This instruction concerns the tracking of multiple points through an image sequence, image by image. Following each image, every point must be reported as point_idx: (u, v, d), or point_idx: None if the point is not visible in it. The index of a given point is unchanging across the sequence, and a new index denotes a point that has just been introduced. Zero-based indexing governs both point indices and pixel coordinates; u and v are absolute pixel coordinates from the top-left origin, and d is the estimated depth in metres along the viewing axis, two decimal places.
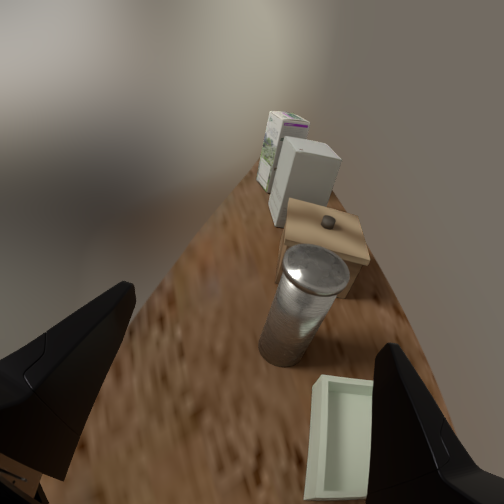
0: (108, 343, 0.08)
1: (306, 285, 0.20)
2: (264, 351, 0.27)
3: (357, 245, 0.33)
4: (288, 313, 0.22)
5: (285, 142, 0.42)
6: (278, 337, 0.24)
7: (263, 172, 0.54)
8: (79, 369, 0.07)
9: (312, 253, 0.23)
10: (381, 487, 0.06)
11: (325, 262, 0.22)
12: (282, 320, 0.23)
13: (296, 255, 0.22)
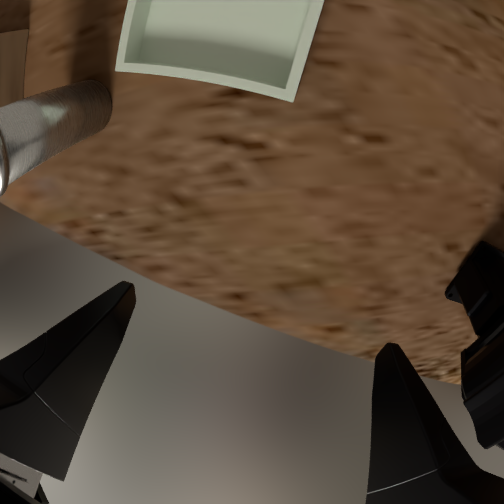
0: (108, 343, 0.08)
1: (1, 180, 0.10)
2: (95, 132, 0.19)
3: None
4: (41, 156, 0.13)
5: None
6: (73, 139, 0.16)
7: None
8: (79, 369, 0.07)
9: None
10: (381, 487, 0.06)
11: None
12: (51, 153, 0.14)
13: None
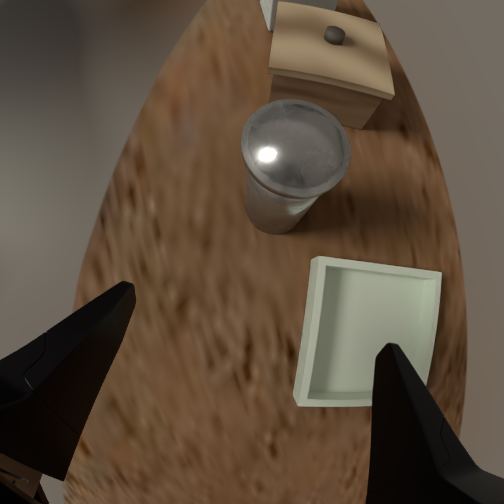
0: (108, 343, 0.08)
1: (274, 187, 0.13)
2: (251, 218, 0.23)
3: (377, 70, 0.19)
4: (263, 201, 0.16)
5: None
6: (260, 215, 0.20)
7: None
8: (79, 369, 0.07)
9: (291, 118, 0.13)
10: (381, 487, 0.06)
11: (312, 133, 0.13)
12: (258, 204, 0.17)
13: (263, 127, 0.13)
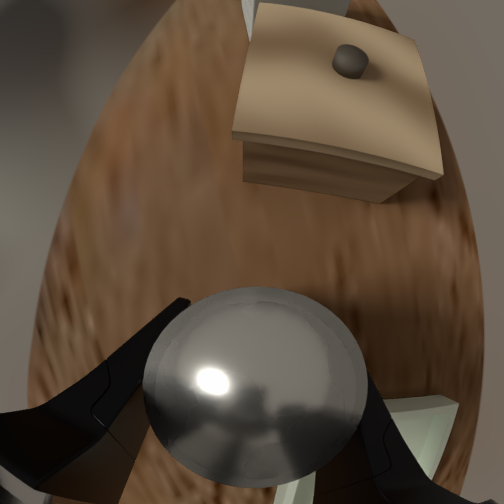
0: None
1: (210, 477, 0.06)
2: None
3: (417, 126, 0.12)
4: None
5: None
6: None
7: None
8: None
9: (247, 344, 0.06)
10: (324, 489, 0.06)
11: (291, 379, 0.06)
12: None
13: (184, 367, 0.06)
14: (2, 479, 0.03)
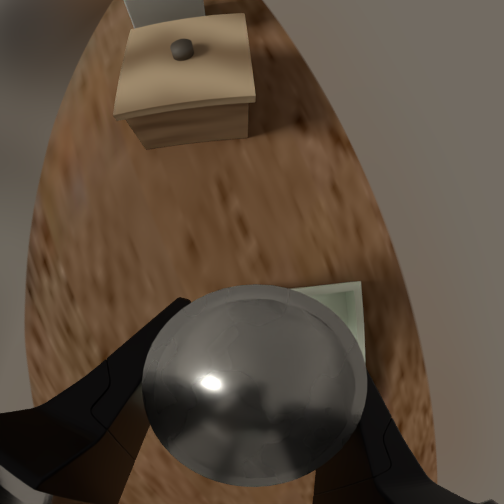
0: None
1: (209, 476, 0.06)
2: None
3: (234, 72, 0.18)
4: None
5: None
6: None
7: None
8: None
9: (246, 342, 0.06)
10: (324, 489, 0.06)
11: (290, 377, 0.06)
12: None
13: (184, 365, 0.06)
14: (2, 479, 0.03)
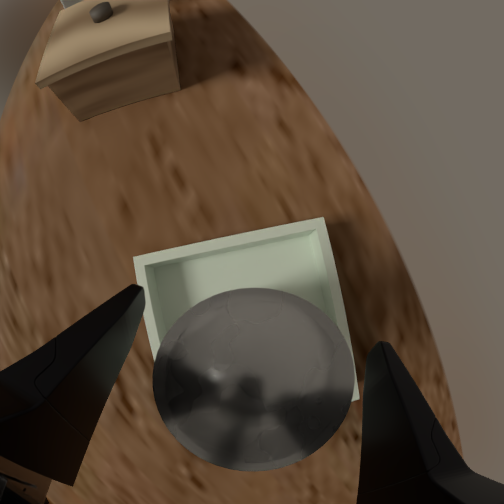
0: (119, 347, 0.08)
1: (212, 461, 0.07)
2: None
3: (149, 18, 0.14)
4: None
5: None
6: None
7: None
8: (90, 374, 0.07)
9: (246, 338, 0.07)
10: (371, 488, 0.06)
11: (285, 369, 0.07)
12: None
13: (190, 359, 0.07)
14: None
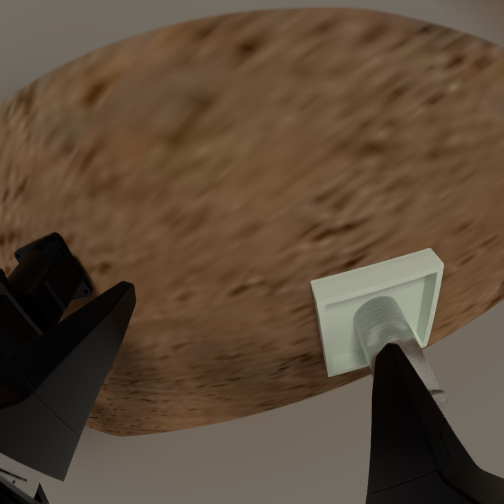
0: (108, 343, 0.08)
1: None
2: (371, 308, 0.24)
3: None
4: None
5: None
6: (375, 341, 0.21)
7: None
8: (79, 369, 0.07)
9: None
10: (381, 487, 0.06)
11: None
12: None
13: None
14: None
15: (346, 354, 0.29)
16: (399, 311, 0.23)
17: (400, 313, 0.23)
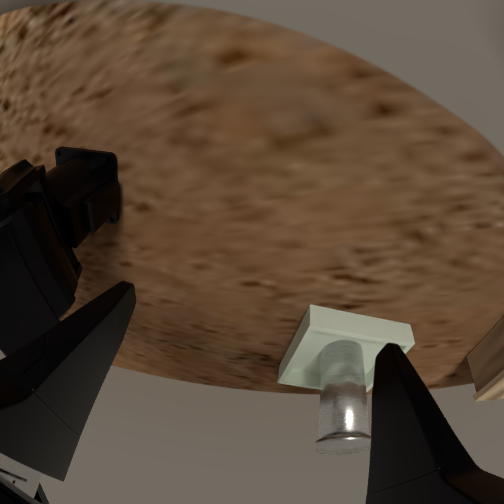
0: (108, 343, 0.08)
1: (330, 441, 0.20)
2: (342, 347, 0.28)
3: (491, 395, 0.23)
4: (336, 405, 0.23)
5: None
6: (336, 375, 0.25)
7: None
8: (79, 369, 0.07)
9: (356, 448, 0.21)
10: (381, 487, 0.06)
11: (343, 450, 0.21)
12: (339, 394, 0.24)
13: (361, 444, 0.20)
14: None
15: (300, 371, 0.33)
16: (362, 360, 0.27)
17: (362, 362, 0.27)
